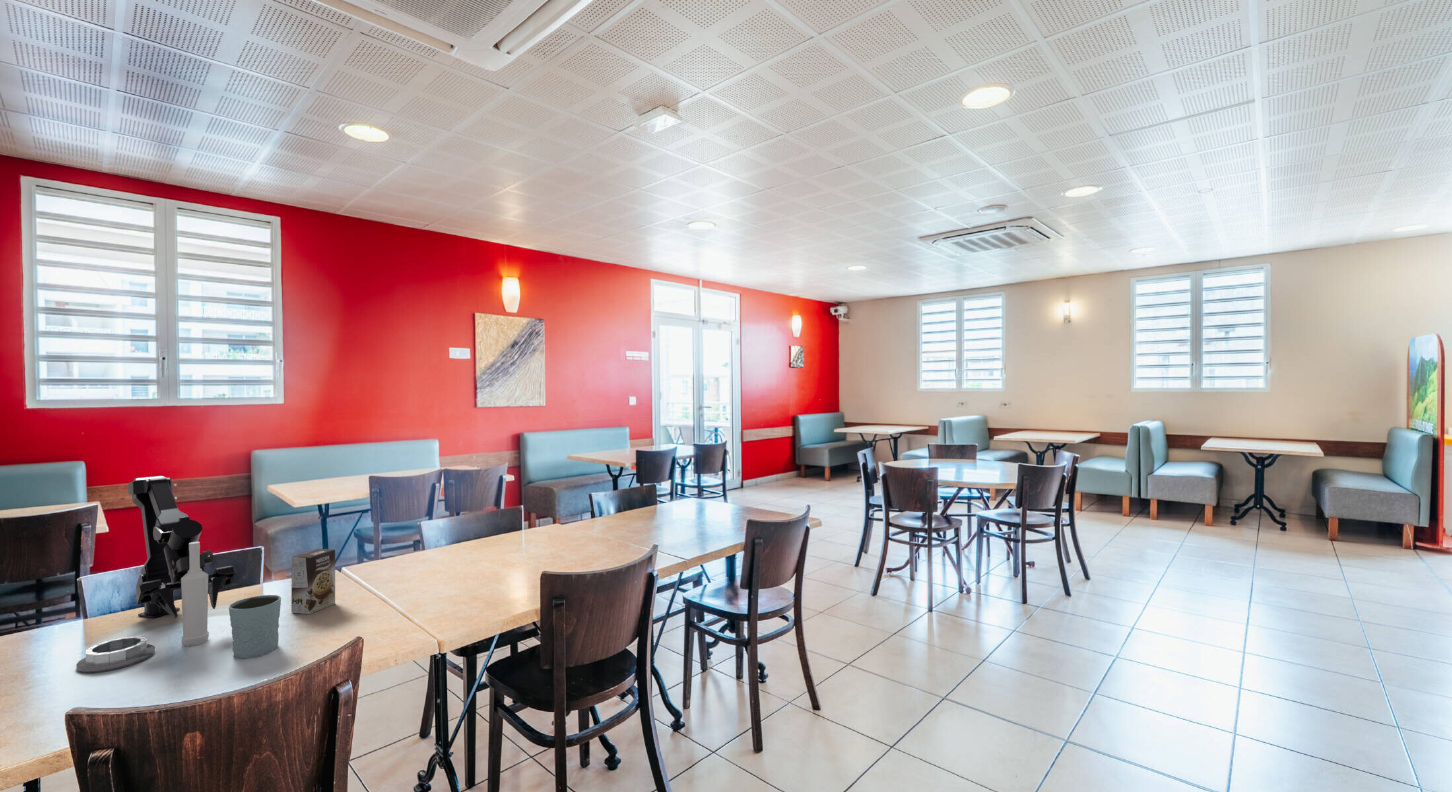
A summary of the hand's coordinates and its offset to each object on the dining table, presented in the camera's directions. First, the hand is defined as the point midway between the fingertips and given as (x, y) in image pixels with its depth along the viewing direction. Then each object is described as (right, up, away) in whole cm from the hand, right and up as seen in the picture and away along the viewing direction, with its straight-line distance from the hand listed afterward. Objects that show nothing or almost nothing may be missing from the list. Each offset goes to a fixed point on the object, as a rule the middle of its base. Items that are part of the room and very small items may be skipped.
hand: (195, 612), depth 152 cm
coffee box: (+13, -7, +24) cm, 28 cm away
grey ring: (-10, -8, -10) cm, 16 cm away
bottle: (0, -8, 0) cm, 8 cm away
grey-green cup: (+18, -8, -4) cm, 20 cm away
